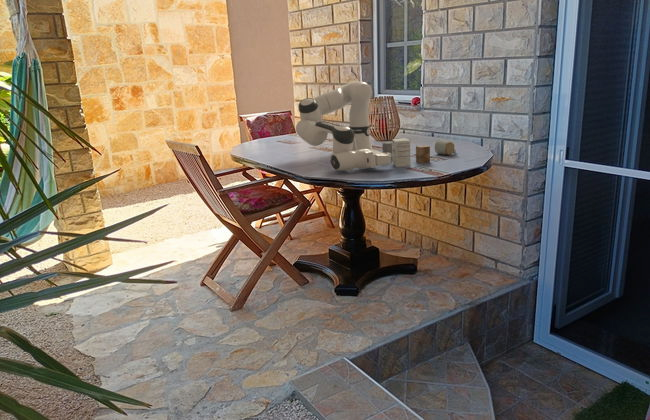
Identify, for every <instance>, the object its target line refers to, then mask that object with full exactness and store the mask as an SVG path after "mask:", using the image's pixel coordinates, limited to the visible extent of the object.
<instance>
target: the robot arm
mask: <svg viewBox="0 0 650 420" xmlns="http://www.w3.org/2000/svg"><path fill="white" fill-rule="evenodd" d="M372 96H373V89H372V87H371V85H370V84H368V83H367V82H365V81H357V80H356V81H353V80H352V81H350V82H348V83H346V84H344V85H341V86H339V87H337V88H336V89H332V90H330V91H328V92H325V93H322V94H319V95H317V96H316V97H313V98H312V97H307V98H304V99H302V100H301V101H299V103H298V112H299V117H300V120H299V121H298V122H297V123H296V124H295V132H296V134H297V135H298V137H299V138H300V139H302V140H303V141H304V142H306V144H309V146H310V145H311V146H313V147H317V146H321V145H322V144H323V143H325V142H326V140H327V138H328V134H330V135H332V152H331V154H332V155H331V157H330V164H331V166H332V168H333V169H334V170H336V171H350V170H354V169H364V168H365V169H366V168H372V169H373V168H376V167H377V166H378V167H379V166H384V165H389V164H392V163H391V162H392V161H391V157H392V155H393V152H392V153H383V151H378V150H376V149H373V146H372V141H371V126H370V117H369V116H370V115H369V114H370V113H369V112H370V104H371V99H372V98H371V97H372ZM348 105H350V110H349V113H348V114H349V115H348V117H349V118H348V119H349V126H346V125H339V124H336V123H332V122H330V121H329V122H328V121H325V120H324V121H323V118H322V116H324V115H328V114H331V113H334V112H336V111H338V110H341V109H343V108H345V107H346V106H348Z"/></svg>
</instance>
